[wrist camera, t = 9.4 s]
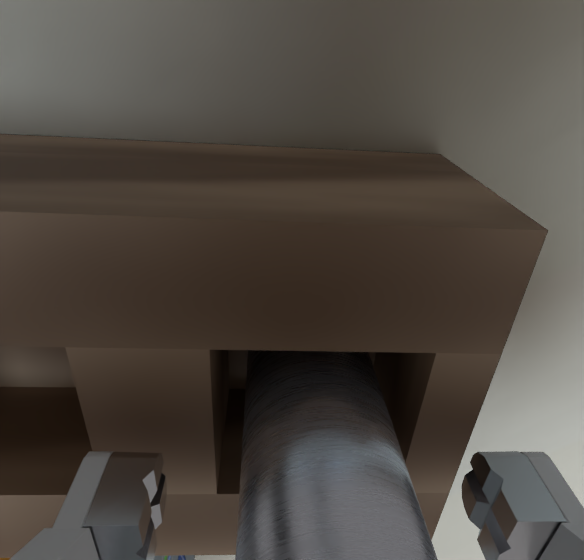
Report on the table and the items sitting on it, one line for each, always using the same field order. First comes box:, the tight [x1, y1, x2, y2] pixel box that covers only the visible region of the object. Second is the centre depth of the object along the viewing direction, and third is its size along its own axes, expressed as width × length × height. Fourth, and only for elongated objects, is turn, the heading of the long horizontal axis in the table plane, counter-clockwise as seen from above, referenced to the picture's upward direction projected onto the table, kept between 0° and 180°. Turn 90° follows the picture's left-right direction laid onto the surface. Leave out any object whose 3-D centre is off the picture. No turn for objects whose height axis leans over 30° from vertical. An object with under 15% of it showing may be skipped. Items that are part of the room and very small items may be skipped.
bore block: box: [0, 134, 548, 558], centre depth 13 cm, size 11×16×6 cm
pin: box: [235, 350, 438, 560], centre depth 10 cm, size 4×4×10 cm
